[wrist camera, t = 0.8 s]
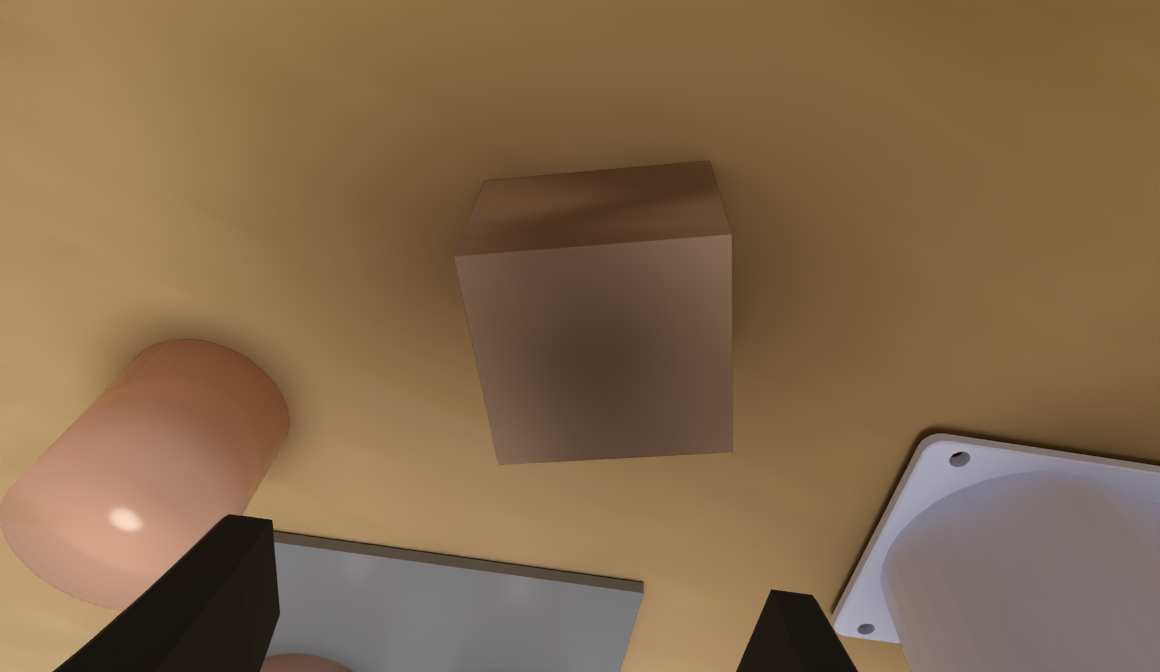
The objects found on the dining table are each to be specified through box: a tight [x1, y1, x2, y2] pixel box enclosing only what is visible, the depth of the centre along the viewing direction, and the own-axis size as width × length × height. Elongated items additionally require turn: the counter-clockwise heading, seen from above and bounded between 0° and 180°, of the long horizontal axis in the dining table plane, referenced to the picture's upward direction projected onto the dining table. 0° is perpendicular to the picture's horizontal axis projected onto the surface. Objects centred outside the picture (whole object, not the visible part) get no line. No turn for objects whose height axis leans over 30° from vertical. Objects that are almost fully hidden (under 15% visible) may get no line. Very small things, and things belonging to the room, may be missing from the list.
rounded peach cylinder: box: [0, 339, 289, 611], centre depth 19 cm, size 4×4×5 cm
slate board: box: [265, 531, 644, 672], centre depth 26 cm, size 14×11×1 cm
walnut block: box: [454, 160, 733, 465], centre depth 17 cm, size 5×5×4 cm
